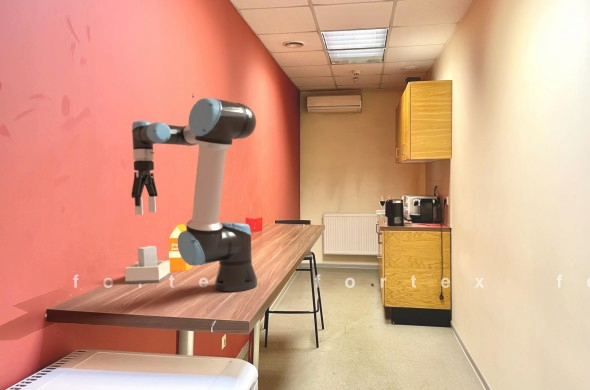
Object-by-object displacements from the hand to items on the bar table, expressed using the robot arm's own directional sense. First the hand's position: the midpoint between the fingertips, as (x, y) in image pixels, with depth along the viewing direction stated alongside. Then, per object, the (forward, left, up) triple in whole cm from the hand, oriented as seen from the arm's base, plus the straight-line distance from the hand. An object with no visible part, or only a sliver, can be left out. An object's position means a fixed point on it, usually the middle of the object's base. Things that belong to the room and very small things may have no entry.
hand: (146, 213), depth 155 cm
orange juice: (+18, -8, -27) cm, 33 cm away
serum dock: (0, 0, -26) cm, 27 cm away
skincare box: (0, 0, -26) cm, 26 cm away
